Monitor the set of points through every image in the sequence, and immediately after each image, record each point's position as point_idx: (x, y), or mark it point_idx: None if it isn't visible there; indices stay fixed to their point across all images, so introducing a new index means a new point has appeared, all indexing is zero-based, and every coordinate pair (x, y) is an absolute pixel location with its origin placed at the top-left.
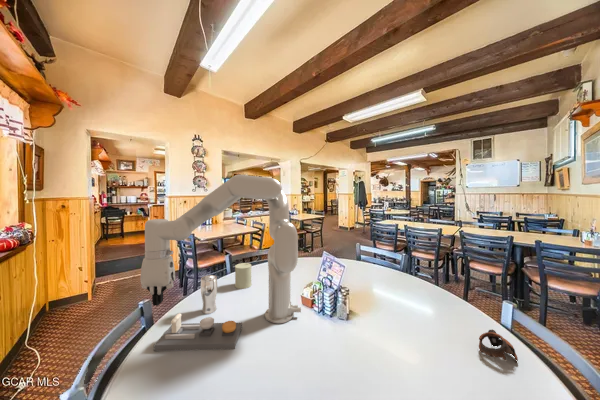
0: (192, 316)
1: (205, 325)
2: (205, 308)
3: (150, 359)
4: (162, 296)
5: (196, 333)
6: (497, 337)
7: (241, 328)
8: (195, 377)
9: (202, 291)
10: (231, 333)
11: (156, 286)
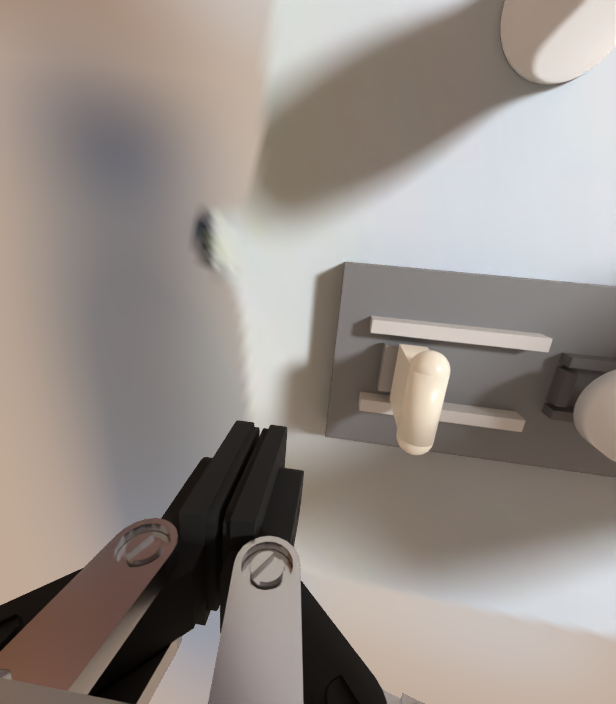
0: (433, 115)
1: None
2: (560, 50)
3: (335, 464)
4: (294, 520)
5: (520, 384)
6: None
7: None
8: (533, 570)
9: None
10: None
11: (105, 657)
